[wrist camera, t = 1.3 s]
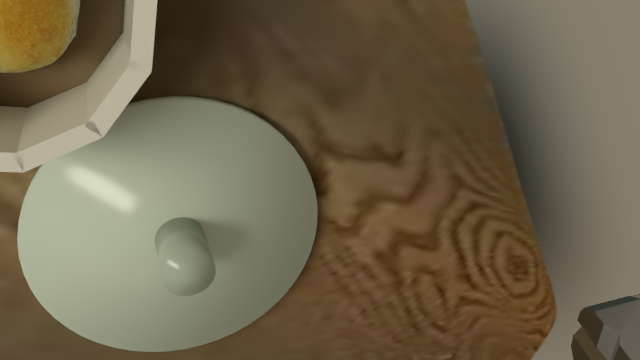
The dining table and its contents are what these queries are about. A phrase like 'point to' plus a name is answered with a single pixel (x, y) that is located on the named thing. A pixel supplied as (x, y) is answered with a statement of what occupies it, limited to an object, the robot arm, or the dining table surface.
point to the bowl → (82, 99)
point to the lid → (168, 226)
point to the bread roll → (35, 32)
